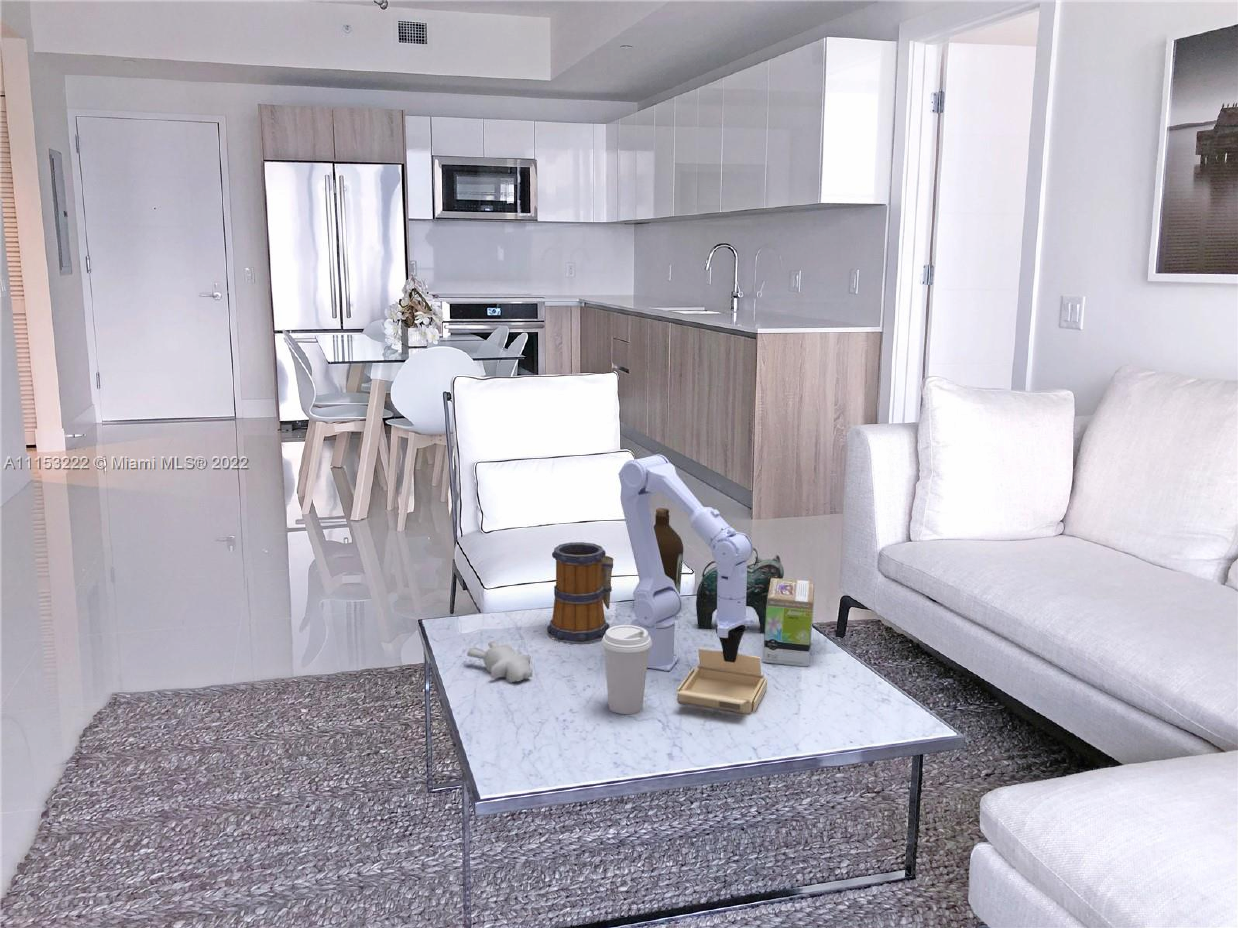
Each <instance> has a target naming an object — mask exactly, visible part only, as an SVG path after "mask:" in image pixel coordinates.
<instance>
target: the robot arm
mask: <svg viewBox="0 0 1238 928" xmlns="http://www.w3.org/2000/svg"><path fill="white" fill-rule="evenodd" d="M618 479H619V482H620V486H621V487H620V496H619V497H620V503H621V508H622V511H623V513H622V514H623V516H624V517H623V518H624V520H625V525H626V529H627V532H628V533H627V534H628V538H629V543H630V547H631V551H632V555H633V559H634V563H635V564H634V565H635V567H636V572H637V575H638V580H639V581H638V582H637V584H636V586H635V588H634V591H633V593H632V594H633V614H634V616H635V617H634V619H633V620H632V621H631V623H630V625H633V626H638V627H642V628H644V629H645V630H647V632H648V635H649V636H650V638H651V641H652V645H651V647H650V648H649V654H648V662H647V669H653V670H660V671H668V672H669V671H671V670H672V669H673V667H674V666H675V664H677V662H678V661H679V659H680V655H678V654H675V632H676V631H675V630H676V629H675V628H676V627H675V626H676V624H675V623H676V621H677V615H679V614H680V612H681V611H682V609H683V598H682V596H681V593H680V594H679V593H678V591H677V589H676V587H675V584H674V581H673V580H672V579H670V578H669V577H667V576H666V575H665V573H664V569H663V564H662V560H661V556H660V552H659V548H658V543H657V539H656V535H655V531H654V527H653V526H654V523H653V518H652V516H651V515H652V514H651V511H650V506H649V501H650V499H651V498H652V497H653V495H654V493H659V494H660V493H661V494H664V495H665V496H666V497H667V498H668V499H669V500H670V501H672V502H673V504H675V505H676V506H677V507H678V508H679V509H680V510H681V511H682V512H683V513H685V515H687V516H688V517H689V518H690V527H691V529H692V530H693V531H694V532H695V533H696V534H697V535H698V536H699V538H701V540H702V541H703V542H704V543H705V544H706V545H707V546H708V547H709V548H710V549H711V556H712V559H713V561H715V565H716V566H717V572H718V584H717V609H716V615H715V622H716V626H715V633H716V637H717V638H718V639H719V642H720V644H721V649H722V652H723V657H724V661H726V662H735V661H736V657H737V654H739V653H738V652H739V647H740V643H741V640H742V638H743V635H744V633H745V631H746V630H747V626H746V625H744V624H750V623H751V622H752V621H753V619H752V617H750V616H747V606H746V587H747V565H748V561H749V560H750V558H751V557H752V555H753V554H754V550H753V548H754V545H753V543H752V541H751V539H750V538H749V537H748V535H747V534H745V533H744V532H738V531H736V529H734V527H731V526H730V525H729V524H728V522H727V521H725V520H724V518H722V517H721V515H720V514H721V512H719V510H718V509H716V508H715V509H714V508H713V507H711V506H710V507H709V506H703V505H702V503H701V502H700V501H699V499H697V498H696V496H695V495H694V494H693V493H692V491H691V490H690V488H688V486H687V485H686V484H685V483H684V482H683V480H682V479H681V478H680V476H678V474H677V472H676V467H675V465H674V464H672V463H671V462H670V461H669V460H668V458H667V457H666V456H664V455H662V454H659V453H658V454H657V453H656V454H653V455H651V456H647V457H643V458H642V457H641V458H638V459H629V460H626V462H625V463H624V464H623V466H622V467H621V469H620V470H619V472H618Z"/></svg>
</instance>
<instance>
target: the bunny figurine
mask: <svg viewBox="0 0 1238 928" xmlns="http://www.w3.org/2000/svg"><path fill="white" fill-rule="evenodd" d="M488 647H489V649H487V651H485V650H483V649H481V648H477V647H469V649H468V651H467V653H466V654H467V656H468V657H470V658H475V659H479V660H480V659H482V660H483V662H484V666H485V669H486V670H487V671H488V672H489V673H490V677H491V678H505V679H506V681H507V682H508V683H510V684H511V683H515V682H520V681H522V680H524V679H529V678H532V677H533V669H532V668H531V656H530V655H529V654H521V653H516V651H515V649H514V648H513V647H512V646H511V645H508V644H501V645H500V644H499V642H498V641H496V640H493V641H490V642H489V643H488Z"/></svg>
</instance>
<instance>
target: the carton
mask: <svg viewBox="0 0 1238 928" xmlns="http://www.w3.org/2000/svg"><path fill="white" fill-rule="evenodd" d="M767 686H768V679H767V678H766V677H765V675H764V674H762V673H761V674H756V673H749V672H742V671H736V670H729V669H723V668H716V667H709V666H703V665H700V664H697V667H692V668H691V670H690V671H689V672H688V674H687V675H686V677H685V678H684V680H682V682H681V684H680V685H679V687H678V688H677V690H676V692H679V691H682V690H684V691H690V692H696V693H703V694H709V695H715V696H721V697H728V698H734V699H740V700H746V701H747V702H746V703H744V704H743V705H740V704H734V703H728V702H722V701H716V700H710V699H703V698H697V697H691V696H685V695H679V694H676V699H677V700H678V704H683V705H684V704H685V705H689V706H695V707H702V708H707V709H712V710H713V709H714V710H719V709H720V711H725V710H728V711H727V712H731V711H733V713H737V712H738V714H743V715H745V714H746V715H751V714H752V713H753V712H756V711H757V709H758V706H759V705H760V702H761V700H762V698H763V697H764V694H765V692H766V690H767V688H768V687H767Z"/></svg>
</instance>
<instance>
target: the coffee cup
mask: <svg viewBox="0 0 1238 928" xmlns="http://www.w3.org/2000/svg"><path fill="white" fill-rule="evenodd" d="M600 642H601V643H600V644H601V645H602V646H603V650H604V653H603V654H604V663H605V674H606V675H605V679H606V688H607V689H606V690H607V691H606V692H607V702H608V703H607V705H608V709H609V710H610V711H612V712H613V713H615V714H619V715H632V714H636V713H639V712H641V711H642V710H643V705H644V696H645V689H646V688H645V687H646V677H647V670H648V668H647V662H648V654H649V648H650V647H651V645H652V641H651V638H650V636H649V635H648V632H647V630H645V629H644V628H642V627H638V626H633V625H631V624H621V625H620V624H619V625H614V626H611V627H609V629H607V631H606V633H605V635H604V636H603V638H602V641H600Z"/></svg>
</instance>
